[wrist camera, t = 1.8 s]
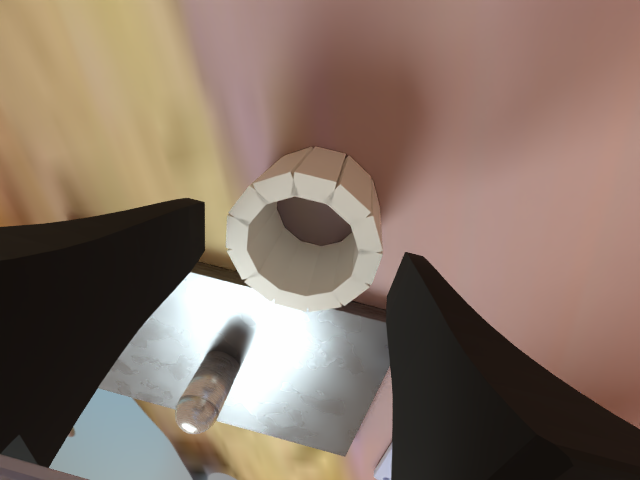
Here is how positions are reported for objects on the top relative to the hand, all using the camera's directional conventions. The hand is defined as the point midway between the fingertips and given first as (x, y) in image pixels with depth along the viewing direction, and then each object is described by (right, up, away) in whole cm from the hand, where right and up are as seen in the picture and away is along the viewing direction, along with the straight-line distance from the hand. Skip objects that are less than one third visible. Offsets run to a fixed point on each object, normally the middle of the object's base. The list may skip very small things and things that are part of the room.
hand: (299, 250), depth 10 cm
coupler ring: (+1, +2, +4) cm, 4 cm away
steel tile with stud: (-6, -7, +10) cm, 13 cm away
